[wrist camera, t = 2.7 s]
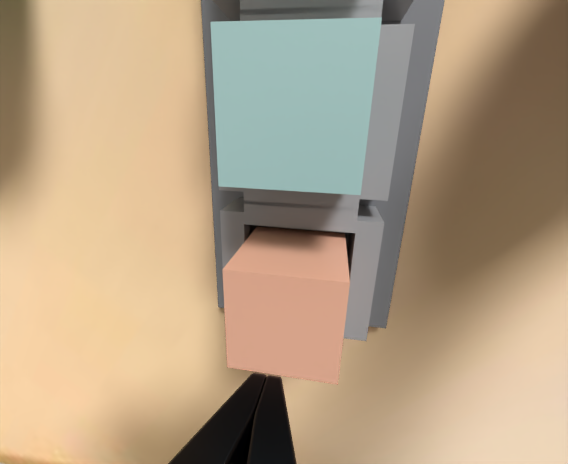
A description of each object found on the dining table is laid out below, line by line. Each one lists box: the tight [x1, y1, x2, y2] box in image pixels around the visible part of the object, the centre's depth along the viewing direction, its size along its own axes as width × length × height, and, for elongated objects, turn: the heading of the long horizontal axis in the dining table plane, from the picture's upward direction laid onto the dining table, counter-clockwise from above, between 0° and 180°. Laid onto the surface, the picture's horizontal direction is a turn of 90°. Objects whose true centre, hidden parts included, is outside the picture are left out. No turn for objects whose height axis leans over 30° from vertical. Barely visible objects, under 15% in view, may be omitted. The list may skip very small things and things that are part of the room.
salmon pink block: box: [223, 226, 350, 385], centre depth 13 cm, size 4×4×5 cm
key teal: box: [211, 17, 382, 195], centre depth 11 cm, size 4×4×5 cm
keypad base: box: [201, 0, 444, 341], centre depth 14 cm, size 11×24×4 cm, turn 178°
